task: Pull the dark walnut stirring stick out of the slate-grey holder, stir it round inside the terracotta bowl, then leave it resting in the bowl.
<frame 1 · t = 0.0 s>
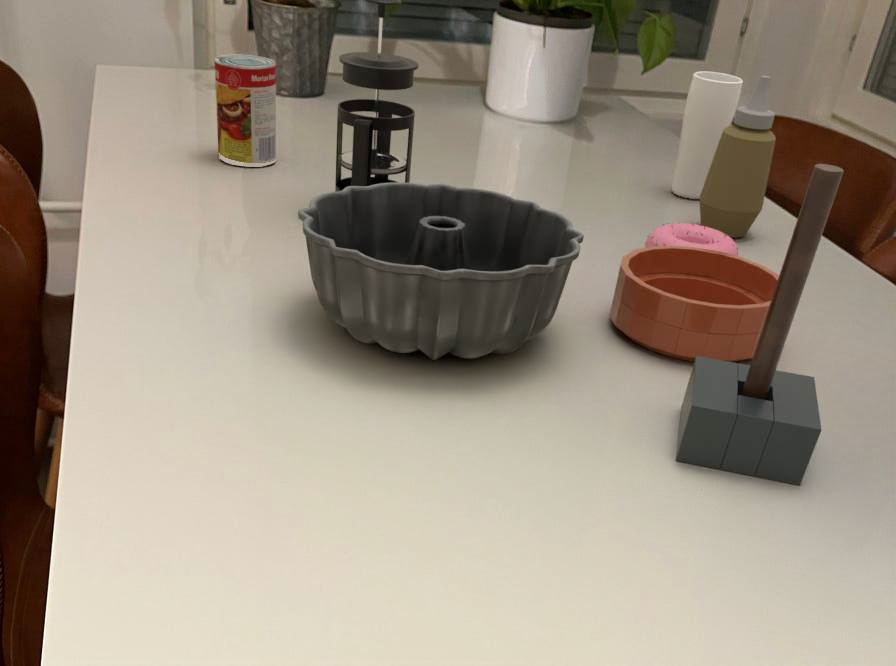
drinking glass: (688, 196, 141), on the table
canned food: (247, 161, 136), on the table
squeeze bottle: (722, 233, 129), on the table
french press: (369, 218, 121), on the table
bundt pan: (431, 327, 98), on the table
bowl: (688, 333, 101), on the table
stick: (779, 319, 76), in the holder
doughnut: (686, 270, 117), on the table
holder: (737, 444, 83), on the table
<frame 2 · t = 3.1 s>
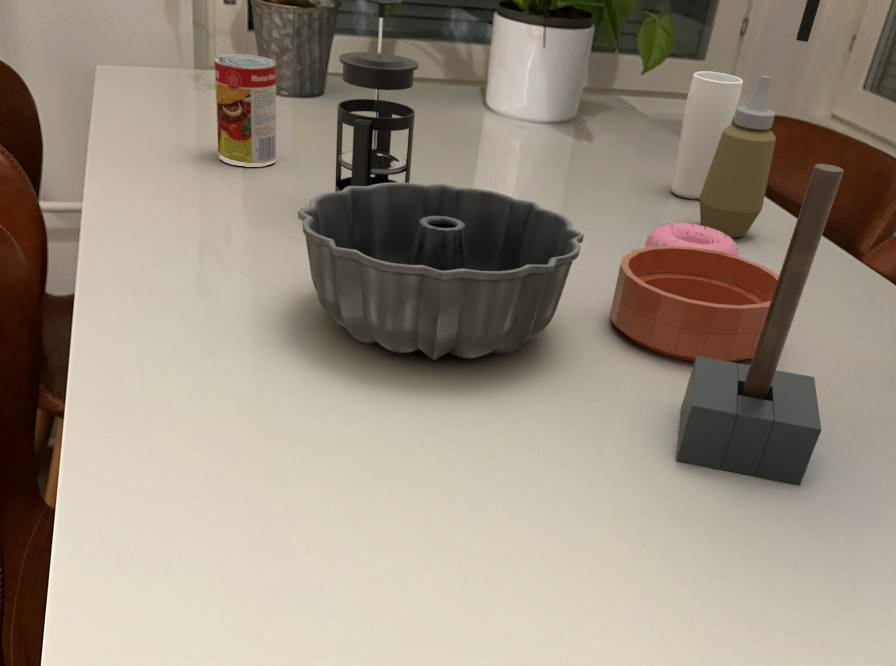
nothing on the table moved.
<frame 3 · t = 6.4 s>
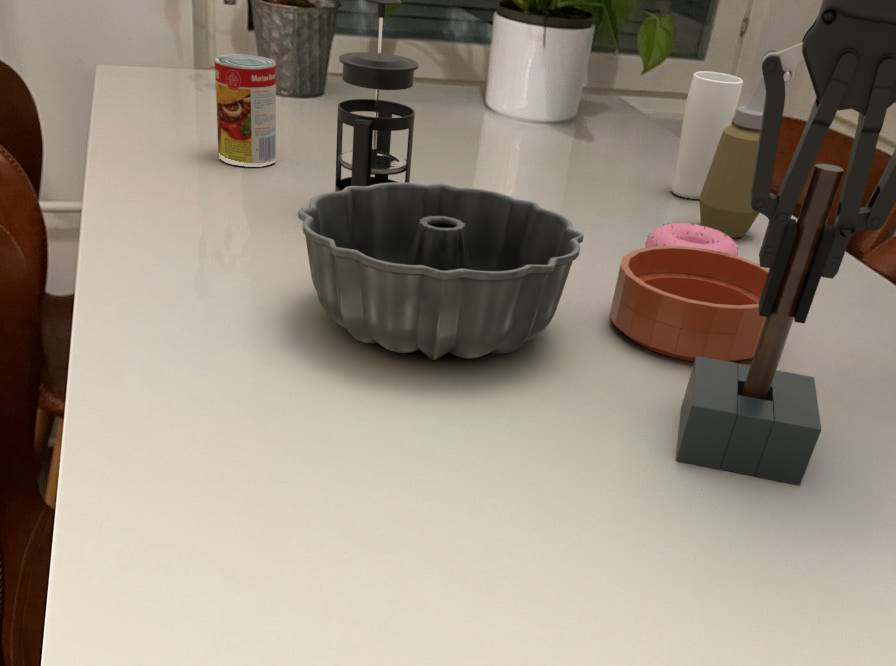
hand: (781, 312, 76), 12 cm above the table, tool pointing down, fingers closed on stick, 2 cm apart
stick: (779, 318, 76), in the holder, touching gripper
everything else where it was.
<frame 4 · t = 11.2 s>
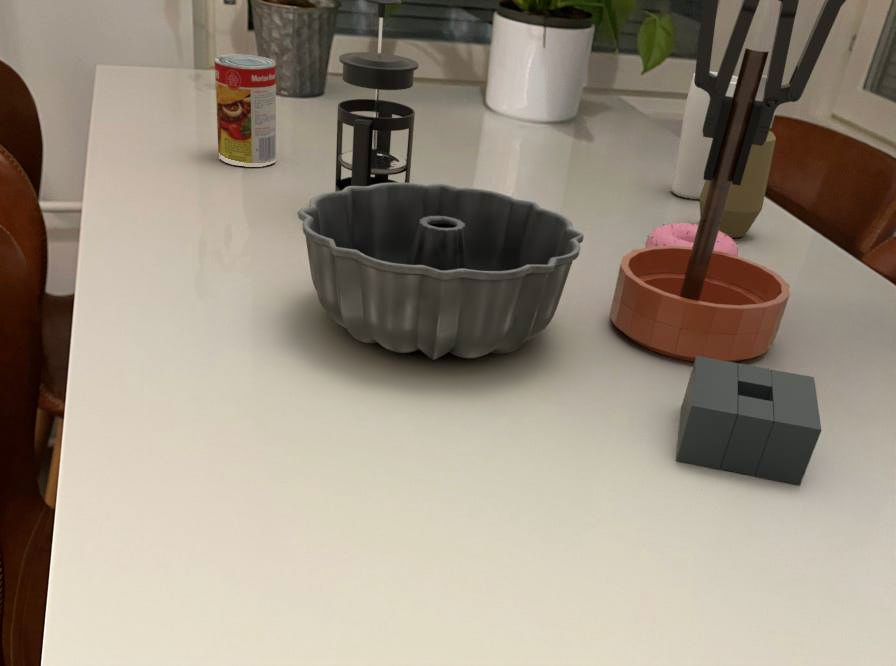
hand: (722, 178, 92), 15 cm above the table, tool pointing down, fingers closed on stick, 2 cm apart
stick: (720, 183, 92), point 14 cm above the table, touching gripper
everything else where it was.
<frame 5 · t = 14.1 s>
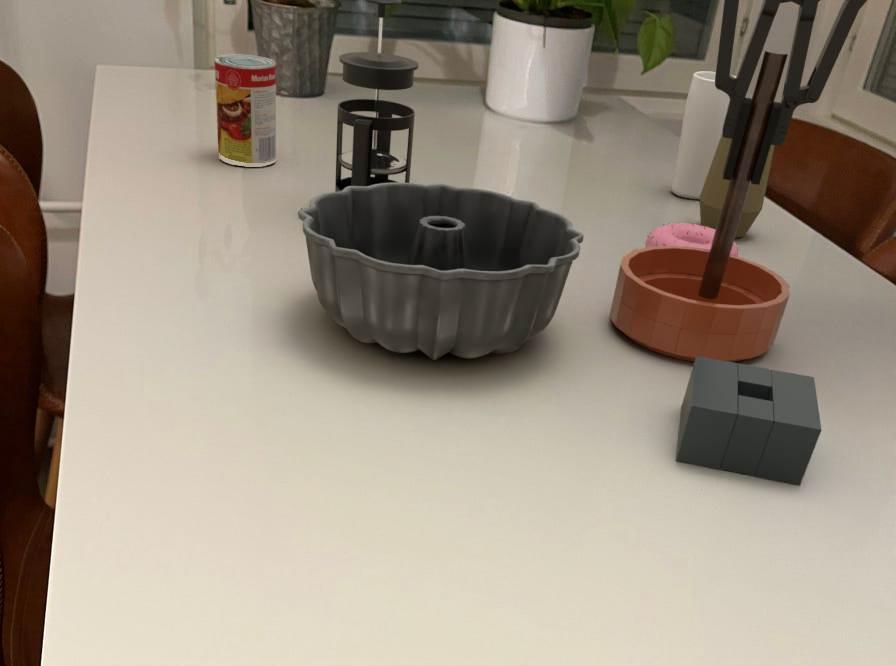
hand: (741, 177, 94), 15 cm above the table, tool pointing down, fingers closed on stick, 2 cm apart
stick: (739, 183, 94), point 14 cm above the table, touching gripper
everything else where it was.
when the fingers open (12 cm above the table, at t = 16.0 s): stick stays where it is, resting on bowl.
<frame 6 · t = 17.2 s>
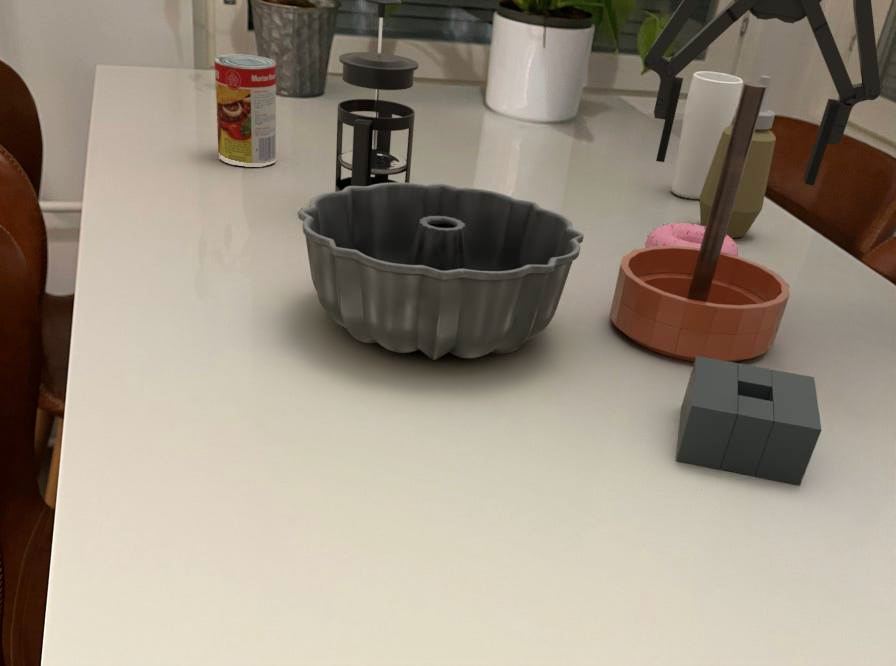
hand: (733, 170, 91), 16 cm above the table, tool pointing down, fingers open, 13 cm apart
stick: (720, 214, 94), in the bowl, point 12 cm above the table
everything else where it was.
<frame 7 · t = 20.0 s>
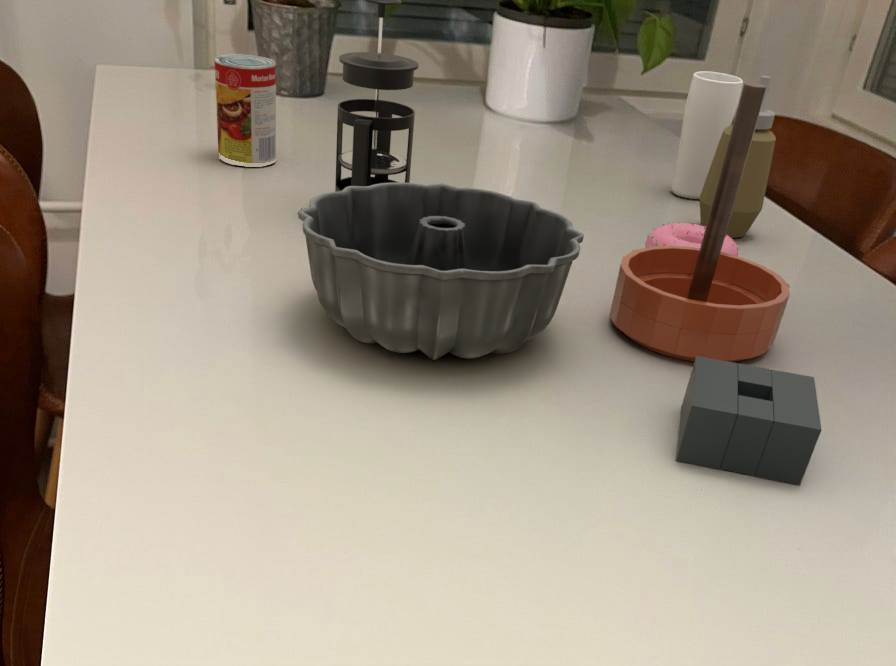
nothing on the table moved.
at the end: stick inside the target area in the bowl (0.1 cm from its centre), point 11.8 cm above the bowl's base; stick moved 23.5 cm from its start; the gripper is holding nothing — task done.
